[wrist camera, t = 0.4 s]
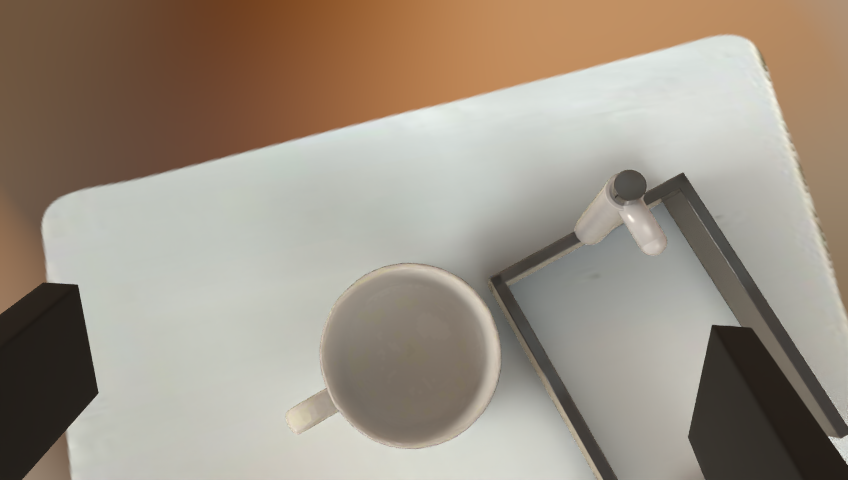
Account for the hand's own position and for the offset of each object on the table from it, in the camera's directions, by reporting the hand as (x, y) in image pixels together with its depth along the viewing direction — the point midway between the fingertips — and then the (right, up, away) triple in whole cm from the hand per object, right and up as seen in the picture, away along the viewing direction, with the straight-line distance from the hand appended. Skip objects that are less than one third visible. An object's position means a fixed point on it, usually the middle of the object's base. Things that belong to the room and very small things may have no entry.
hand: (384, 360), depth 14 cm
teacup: (-1, -6, +34) cm, 35 cm away
